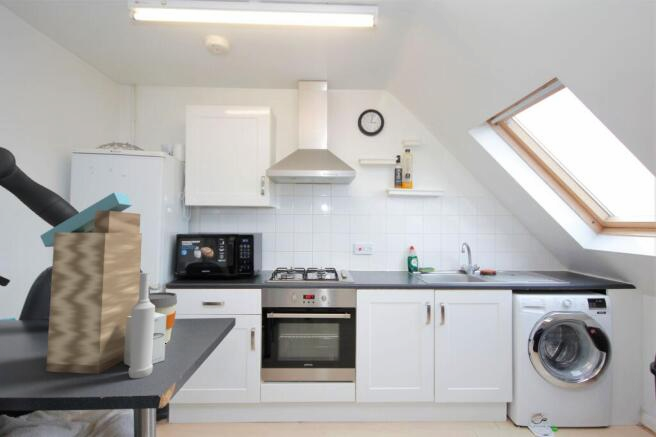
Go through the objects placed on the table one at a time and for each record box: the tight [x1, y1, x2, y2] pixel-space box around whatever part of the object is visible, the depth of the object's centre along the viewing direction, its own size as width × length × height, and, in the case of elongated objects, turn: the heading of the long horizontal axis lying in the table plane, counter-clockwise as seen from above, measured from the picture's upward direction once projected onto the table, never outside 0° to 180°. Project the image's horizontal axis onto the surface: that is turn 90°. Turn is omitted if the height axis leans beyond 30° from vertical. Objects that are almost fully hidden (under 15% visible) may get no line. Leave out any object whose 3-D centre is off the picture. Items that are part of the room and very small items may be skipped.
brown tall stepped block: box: [45, 211, 143, 375], centre depth 88 cm, size 14×14×41 cm
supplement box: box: [123, 312, 166, 367], centre depth 87 cm, size 7×7×13 cm
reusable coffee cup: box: [148, 291, 178, 344], centre depth 102 cm, size 13×13×15 cm
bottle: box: [128, 272, 155, 379], centre depth 80 cm, size 5×5×25 cm
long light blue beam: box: [39, 192, 133, 248], centre depth 89 cm, size 22×5×15 cm, turn 86°
